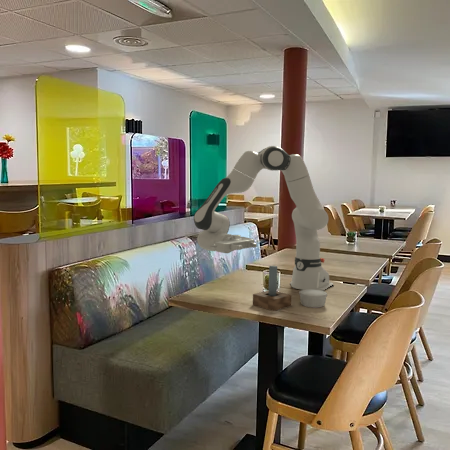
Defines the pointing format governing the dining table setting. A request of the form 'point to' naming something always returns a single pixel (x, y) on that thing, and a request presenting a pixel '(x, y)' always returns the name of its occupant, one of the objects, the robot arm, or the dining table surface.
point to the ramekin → (313, 298)
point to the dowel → (272, 281)
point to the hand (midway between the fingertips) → (248, 246)
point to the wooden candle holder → (272, 300)
